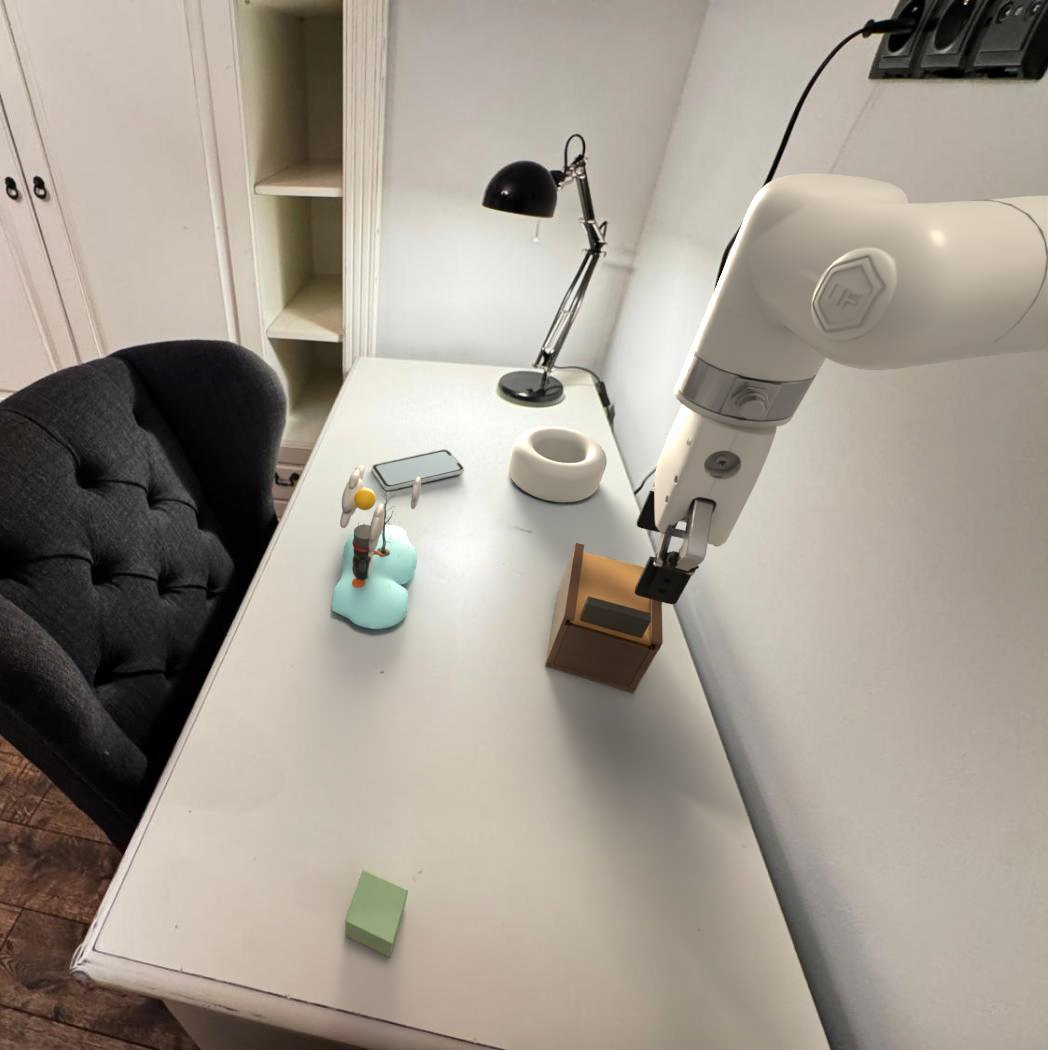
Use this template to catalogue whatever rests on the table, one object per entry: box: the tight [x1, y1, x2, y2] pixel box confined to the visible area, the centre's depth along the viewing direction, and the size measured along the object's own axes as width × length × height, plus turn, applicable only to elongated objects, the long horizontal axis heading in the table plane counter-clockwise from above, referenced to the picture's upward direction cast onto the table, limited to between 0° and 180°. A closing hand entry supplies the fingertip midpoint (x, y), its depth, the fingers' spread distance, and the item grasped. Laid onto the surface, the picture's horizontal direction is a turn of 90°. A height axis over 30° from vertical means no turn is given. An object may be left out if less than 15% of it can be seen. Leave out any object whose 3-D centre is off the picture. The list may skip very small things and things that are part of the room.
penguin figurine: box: [330, 463, 422, 630], centre depth 75 cm, size 20×11×15 cm, turn 167°
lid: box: [569, 551, 651, 645], centre depth 65 cm, size 12×8×3 cm
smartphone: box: [371, 448, 465, 491], centre depth 99 cm, size 7×1×15 cm
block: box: [344, 869, 409, 958], centre depth 47 cm, size 4×4×4 cm
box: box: [544, 541, 664, 694], centre depth 69 cm, size 13×10×9 cm
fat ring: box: [508, 425, 608, 503], centre depth 96 cm, size 15×15×7 cm
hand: (653, 561), depth 51 cm, fingers open, 9 cm apart
